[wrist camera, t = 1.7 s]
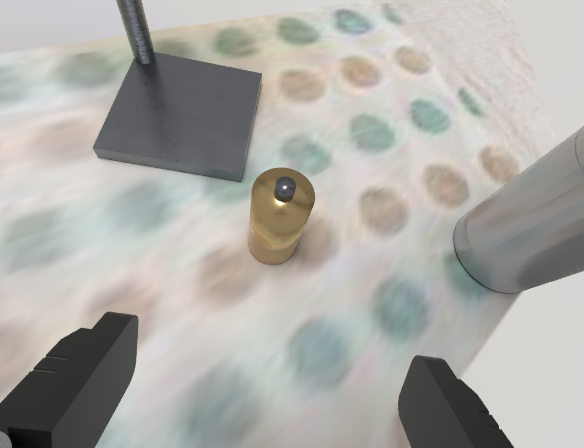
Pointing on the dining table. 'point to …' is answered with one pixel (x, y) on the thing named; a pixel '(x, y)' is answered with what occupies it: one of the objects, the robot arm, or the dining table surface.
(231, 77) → the stand
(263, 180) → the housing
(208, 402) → the dining table surface
